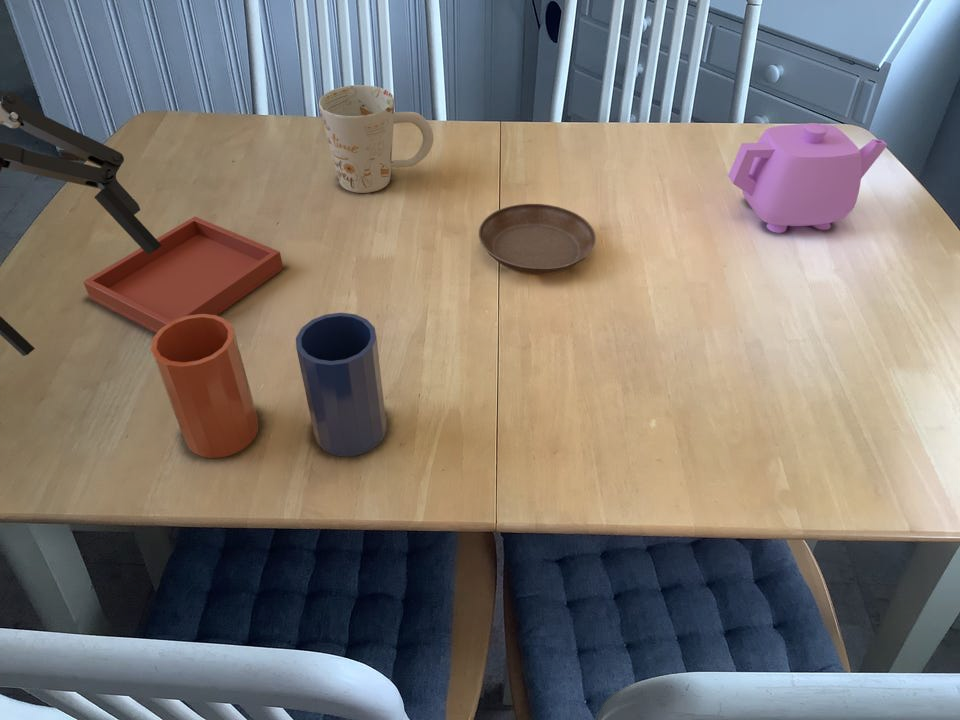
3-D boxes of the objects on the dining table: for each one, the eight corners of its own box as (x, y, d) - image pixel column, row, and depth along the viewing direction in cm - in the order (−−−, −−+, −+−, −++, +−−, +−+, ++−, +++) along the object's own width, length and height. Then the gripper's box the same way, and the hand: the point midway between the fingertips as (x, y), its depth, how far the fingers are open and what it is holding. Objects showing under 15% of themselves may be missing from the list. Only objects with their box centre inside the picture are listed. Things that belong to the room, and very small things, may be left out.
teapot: (737, 243, 101) (761, 154, 93) (706, 194, 110) (725, 109, 102) (882, 233, 103) (919, 145, 95) (839, 186, 112) (869, 101, 104)
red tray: (176, 344, 86) (170, 326, 84) (90, 299, 92) (82, 281, 90) (283, 269, 97) (280, 251, 95) (199, 233, 103) (194, 216, 101)
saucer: (608, 235, 103) (611, 218, 101) (570, 298, 93) (572, 279, 91) (506, 210, 107) (506, 193, 105) (459, 267, 97) (458, 249, 95)
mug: (328, 167, 116) (317, 87, 108) (429, 158, 118) (426, 79, 110) (331, 201, 109) (320, 119, 101) (439, 191, 111) (437, 110, 103)
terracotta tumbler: (221, 469, 73) (189, 376, 65) (170, 439, 76) (133, 346, 68) (273, 423, 77) (250, 331, 69) (223, 396, 80) (195, 304, 72)
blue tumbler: (355, 467, 73) (340, 375, 65) (300, 437, 76) (279, 345, 68) (400, 422, 78) (391, 329, 69) (346, 395, 80) (331, 303, 72)
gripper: (15, 24, 68) (189, 219, 76) (-274, 193, 56) (-34, 400, 65) (26, -12, 62) (213, 204, 70) (-296, 169, 50) (-28, 401, 59)
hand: (95, 299), depth 67 cm, fingers open, 13 cm apart
